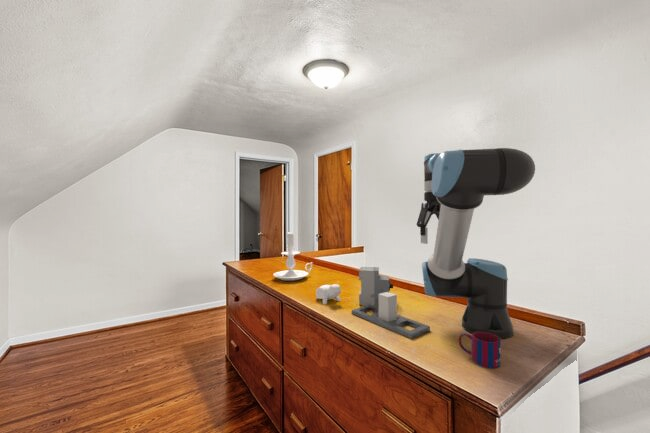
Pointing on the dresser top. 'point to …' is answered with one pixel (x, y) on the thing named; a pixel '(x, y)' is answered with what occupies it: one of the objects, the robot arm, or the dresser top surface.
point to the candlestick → (291, 263)
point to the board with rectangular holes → (392, 322)
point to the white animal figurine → (328, 292)
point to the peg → (387, 306)
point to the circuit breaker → (372, 285)
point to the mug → (484, 349)
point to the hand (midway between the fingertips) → (433, 242)
